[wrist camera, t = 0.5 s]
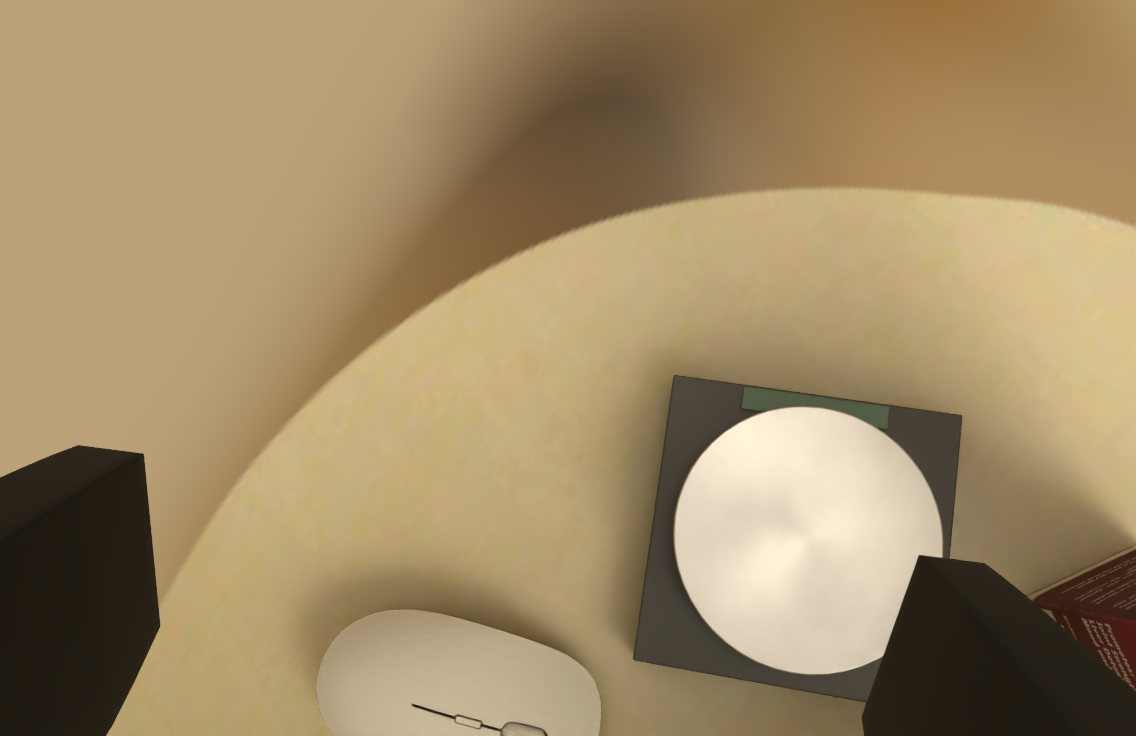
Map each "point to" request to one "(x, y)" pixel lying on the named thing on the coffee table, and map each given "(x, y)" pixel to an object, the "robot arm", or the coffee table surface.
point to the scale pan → (803, 537)
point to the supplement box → (1099, 610)
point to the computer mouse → (450, 681)
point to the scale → (691, 426)
